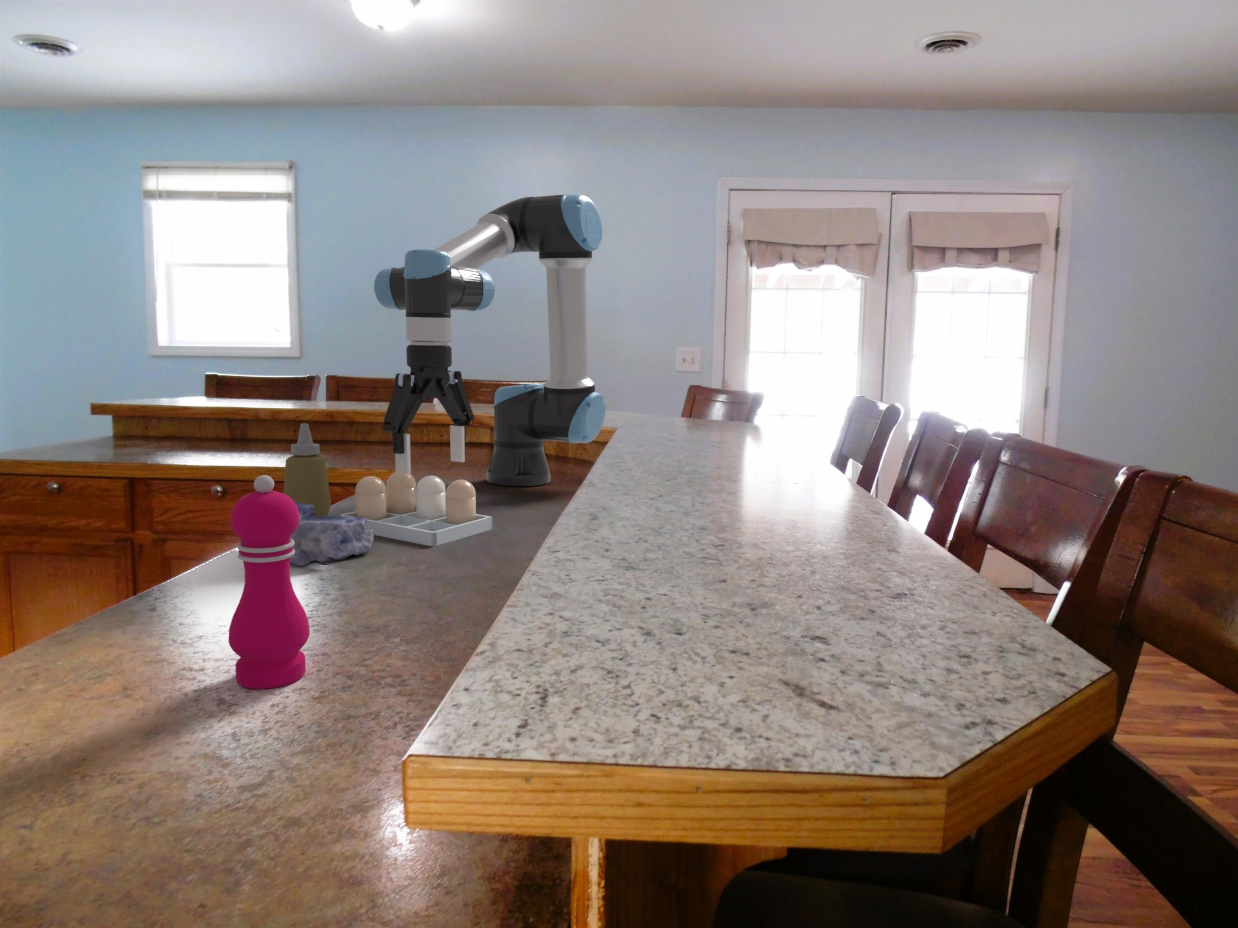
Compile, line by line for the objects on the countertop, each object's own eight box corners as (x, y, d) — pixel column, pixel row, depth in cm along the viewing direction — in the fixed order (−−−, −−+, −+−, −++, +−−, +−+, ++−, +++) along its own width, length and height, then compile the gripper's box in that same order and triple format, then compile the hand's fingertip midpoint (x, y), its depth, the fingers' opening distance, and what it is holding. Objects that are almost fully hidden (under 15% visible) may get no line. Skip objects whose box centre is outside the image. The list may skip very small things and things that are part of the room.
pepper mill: (224, 671, 78) (214, 472, 75) (300, 656, 83) (294, 467, 80) (238, 698, 73) (228, 484, 70) (319, 681, 77) (313, 478, 74)
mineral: (260, 508, 111) (285, 490, 121) (256, 571, 113) (281, 549, 123) (365, 521, 112) (381, 502, 122) (359, 583, 114) (375, 560, 124)
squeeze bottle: (315, 532, 135) (312, 427, 132) (272, 528, 136) (268, 424, 134) (340, 522, 143) (338, 422, 140) (300, 518, 144) (297, 420, 141)
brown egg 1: (372, 521, 140) (371, 473, 139) (392, 525, 137) (392, 476, 136) (349, 527, 136) (348, 476, 134) (370, 531, 133) (369, 479, 132)
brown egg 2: (399, 515, 146) (400, 467, 145) (421, 518, 144) (421, 470, 142) (380, 519, 141) (380, 471, 140) (402, 523, 139) (402, 474, 138)
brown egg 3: (459, 525, 139) (459, 476, 138) (481, 529, 137) (481, 479, 135) (439, 530, 135) (439, 480, 134) (462, 535, 132) (462, 483, 131)
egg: (451, 524, 140) (451, 475, 139) (431, 529, 136) (431, 479, 134) (430, 520, 142) (430, 472, 141) (410, 525, 138) (409, 475, 137)
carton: (401, 517, 148) (400, 501, 147) (492, 533, 137) (492, 516, 137) (338, 532, 135) (338, 514, 135) (434, 551, 125) (433, 532, 124)
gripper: (460, 342, 147) (462, 455, 151) (356, 343, 126) (361, 475, 129) (492, 343, 143) (493, 459, 147) (390, 345, 122) (394, 480, 126)
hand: (431, 466), depth 138 cm, fingers open, 13 cm apart
